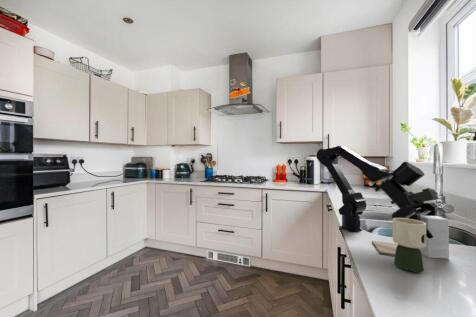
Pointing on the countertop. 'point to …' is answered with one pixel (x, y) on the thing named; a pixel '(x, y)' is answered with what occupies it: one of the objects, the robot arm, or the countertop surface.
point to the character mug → (409, 243)
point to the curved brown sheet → (385, 248)
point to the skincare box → (436, 237)
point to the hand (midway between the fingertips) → (438, 235)
